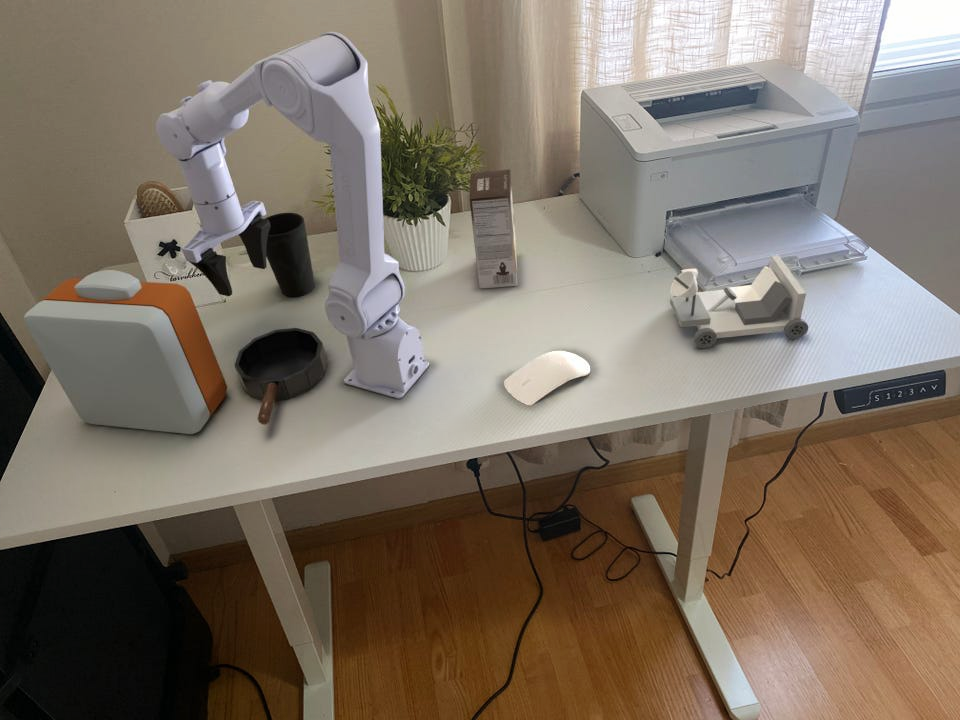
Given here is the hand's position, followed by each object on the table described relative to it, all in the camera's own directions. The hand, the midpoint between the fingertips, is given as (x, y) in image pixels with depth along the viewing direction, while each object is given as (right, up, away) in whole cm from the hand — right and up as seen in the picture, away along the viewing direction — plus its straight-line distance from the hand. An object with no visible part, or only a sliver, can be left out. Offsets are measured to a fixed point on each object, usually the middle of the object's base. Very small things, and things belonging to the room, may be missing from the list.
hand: (243, 280), depth 108 cm
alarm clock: (-10, -19, -6) cm, 22 cm away
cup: (+4, 0, +15) cm, 16 cm away
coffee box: (+38, +2, +13) cm, 40 cm away
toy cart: (+70, -6, -3) cm, 70 cm away
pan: (+7, -16, -6) cm, 18 cm away
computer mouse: (+44, -14, -9) cm, 47 cm away
